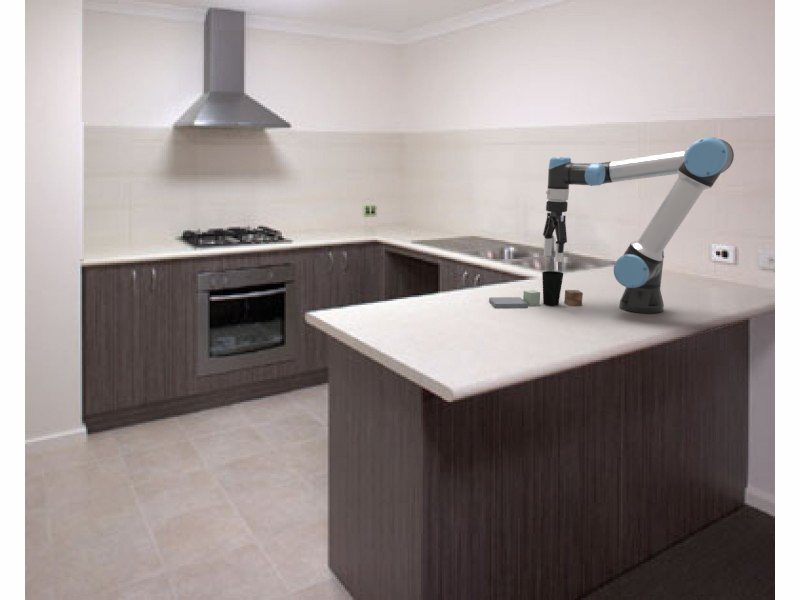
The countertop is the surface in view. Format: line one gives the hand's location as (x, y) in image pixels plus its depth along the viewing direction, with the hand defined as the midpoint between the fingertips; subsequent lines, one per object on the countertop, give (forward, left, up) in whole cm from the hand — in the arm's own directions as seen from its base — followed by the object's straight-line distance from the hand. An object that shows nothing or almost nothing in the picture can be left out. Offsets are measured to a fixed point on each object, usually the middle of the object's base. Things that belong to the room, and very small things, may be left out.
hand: (553, 258), depth 235 cm
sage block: (+6, +5, -17) cm, 19 cm away
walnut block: (-7, -5, -17) cm, 19 cm away
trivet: (+13, +10, -17) cm, 24 cm away
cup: (0, 0, -18) cm, 18 cm away
